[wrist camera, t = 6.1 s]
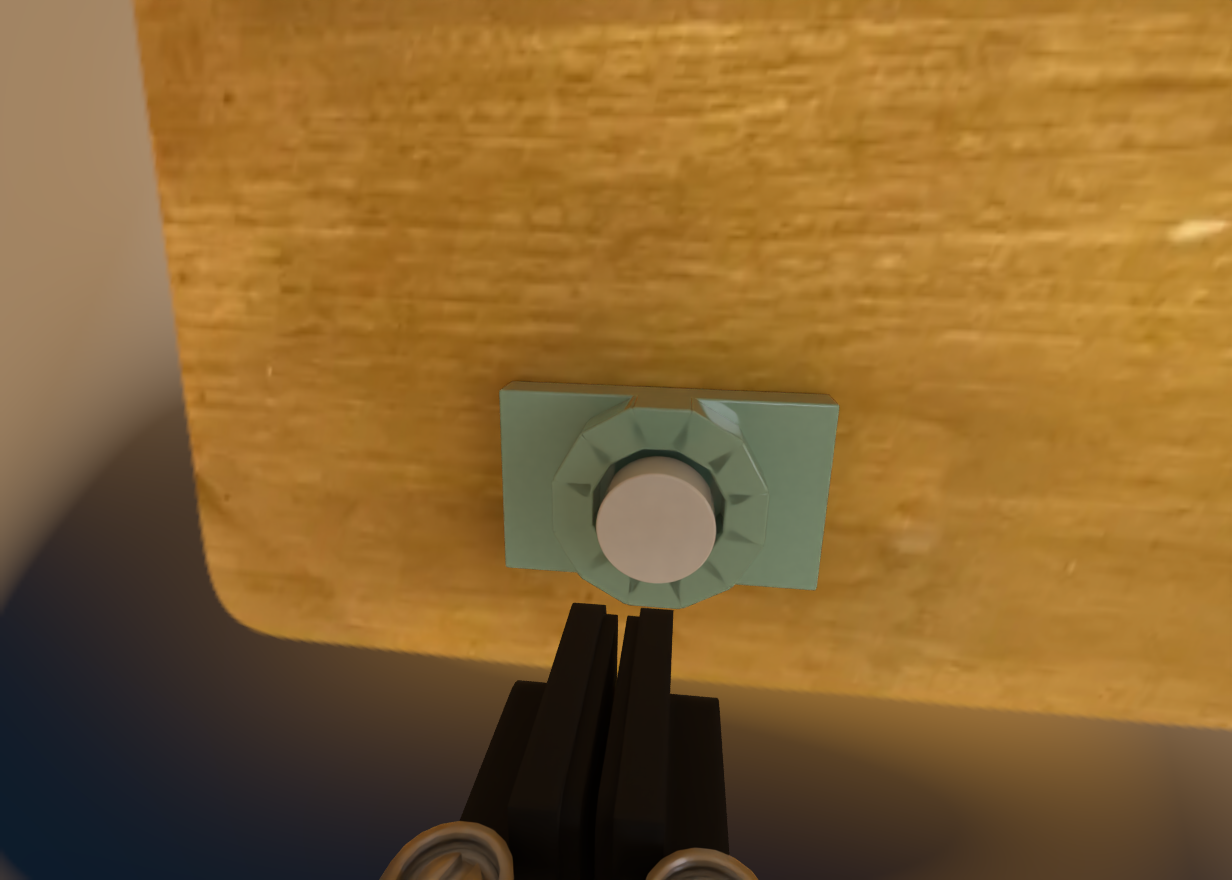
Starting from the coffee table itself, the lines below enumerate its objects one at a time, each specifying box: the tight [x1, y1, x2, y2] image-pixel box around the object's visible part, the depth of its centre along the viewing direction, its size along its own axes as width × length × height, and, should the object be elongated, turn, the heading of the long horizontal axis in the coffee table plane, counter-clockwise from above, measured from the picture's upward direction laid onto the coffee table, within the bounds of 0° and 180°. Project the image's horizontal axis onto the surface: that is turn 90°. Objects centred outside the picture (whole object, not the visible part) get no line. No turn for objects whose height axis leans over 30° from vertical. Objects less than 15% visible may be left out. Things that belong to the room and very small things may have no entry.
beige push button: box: [596, 456, 716, 583], centre depth 17 cm, size 3×3×2 cm
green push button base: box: [499, 381, 840, 609], centre depth 19 cm, size 10×6×3 cm, turn 89°
